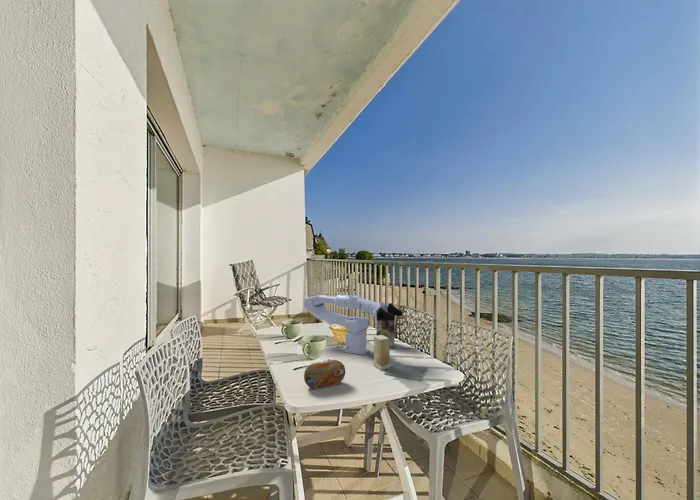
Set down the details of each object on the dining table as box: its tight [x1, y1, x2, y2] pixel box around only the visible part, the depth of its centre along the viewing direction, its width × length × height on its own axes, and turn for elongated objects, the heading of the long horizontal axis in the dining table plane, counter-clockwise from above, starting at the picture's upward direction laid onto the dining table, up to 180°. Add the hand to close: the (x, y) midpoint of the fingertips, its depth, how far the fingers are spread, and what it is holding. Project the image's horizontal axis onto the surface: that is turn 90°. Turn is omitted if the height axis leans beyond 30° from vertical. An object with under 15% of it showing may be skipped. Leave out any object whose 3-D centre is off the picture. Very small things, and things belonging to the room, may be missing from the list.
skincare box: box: [373, 335, 391, 371], centre depth 130 cm, size 6×4×12 cm
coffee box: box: [375, 319, 396, 347], centre depth 160 cm, size 9×6×16 cm
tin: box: [303, 359, 346, 390], centre depth 112 cm, size 15×3×8 cm, turn 117°
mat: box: [383, 362, 428, 382], centre depth 126 cm, size 14×13×1 cm
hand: (398, 316), depth 138 cm, fingers open, 7 cm apart
